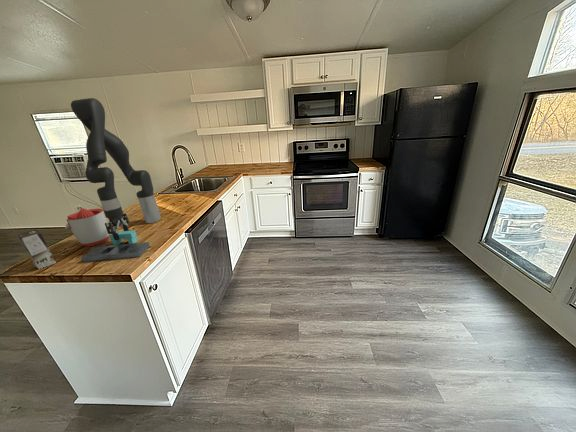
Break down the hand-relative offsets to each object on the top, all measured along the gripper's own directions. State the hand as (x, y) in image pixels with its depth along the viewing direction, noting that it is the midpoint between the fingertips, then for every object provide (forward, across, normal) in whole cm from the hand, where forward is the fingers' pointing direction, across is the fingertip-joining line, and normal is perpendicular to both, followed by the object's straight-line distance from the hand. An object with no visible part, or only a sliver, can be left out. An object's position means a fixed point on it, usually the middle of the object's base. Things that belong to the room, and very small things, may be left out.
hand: (122, 236), depth 123 cm
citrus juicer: (+4, -4, -19) cm, 20 cm away
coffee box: (+5, +15, -29) cm, 33 cm away
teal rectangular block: (+4, 0, 0) cm, 4 cm away
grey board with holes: (+4, +12, +3) cm, 13 cm away
